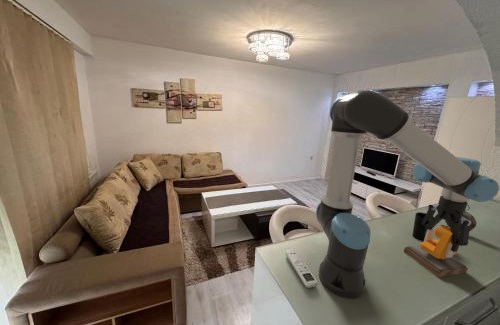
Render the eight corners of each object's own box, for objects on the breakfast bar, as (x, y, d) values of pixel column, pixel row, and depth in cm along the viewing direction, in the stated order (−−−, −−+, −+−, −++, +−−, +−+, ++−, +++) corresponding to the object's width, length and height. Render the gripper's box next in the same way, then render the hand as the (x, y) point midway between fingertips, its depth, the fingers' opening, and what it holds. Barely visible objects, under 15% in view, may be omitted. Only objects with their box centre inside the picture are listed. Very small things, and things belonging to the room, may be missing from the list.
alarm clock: (472, 236, 104) (482, 207, 100) (468, 239, 101) (479, 209, 97) (444, 225, 113) (453, 199, 109) (440, 227, 111) (449, 200, 107)
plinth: (437, 276, 76) (439, 270, 75) (403, 251, 89) (405, 245, 89) (466, 273, 79) (468, 266, 78) (429, 249, 92) (431, 243, 91)
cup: (406, 234, 103) (412, 213, 100) (415, 232, 105) (421, 211, 102) (423, 244, 96) (430, 221, 93) (433, 241, 98) (440, 219, 95)
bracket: (435, 244, 88) (443, 219, 85) (455, 255, 81) (465, 229, 78) (417, 248, 85) (425, 223, 82) (437, 260, 78) (446, 233, 75)
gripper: (497, 210, 68) (475, 267, 74) (433, 187, 87) (419, 234, 93) (480, 211, 66) (459, 269, 72) (419, 188, 86) (406, 235, 92)
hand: (437, 249), depth 83 cm, fingers closed on bracket, 8 cm apart
